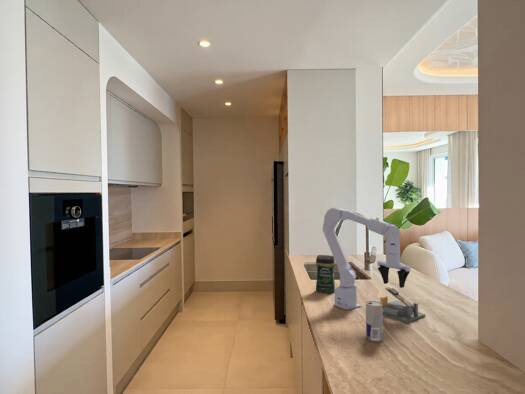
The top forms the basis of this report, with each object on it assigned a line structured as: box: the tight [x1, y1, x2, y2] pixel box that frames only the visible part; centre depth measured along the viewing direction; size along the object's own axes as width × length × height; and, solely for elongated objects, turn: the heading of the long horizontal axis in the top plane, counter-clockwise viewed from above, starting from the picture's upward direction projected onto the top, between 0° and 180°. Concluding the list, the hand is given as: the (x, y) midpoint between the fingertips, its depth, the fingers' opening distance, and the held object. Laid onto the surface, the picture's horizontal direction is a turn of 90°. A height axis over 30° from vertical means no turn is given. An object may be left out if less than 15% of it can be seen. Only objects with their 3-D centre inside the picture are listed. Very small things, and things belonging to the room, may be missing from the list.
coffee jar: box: [315, 254, 336, 294], centre depth 163 cm, size 10×8×19 cm
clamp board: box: [379, 295, 426, 324], centre depth 131 cm, size 12×16×6 cm
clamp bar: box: [385, 287, 415, 309], centre depth 130 cm, size 13×3×1 cm, turn 30°
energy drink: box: [365, 300, 384, 343], centre depth 108 cm, size 5×5×12 cm
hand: (393, 285), depth 135 cm, fingers open, 7 cm apart
